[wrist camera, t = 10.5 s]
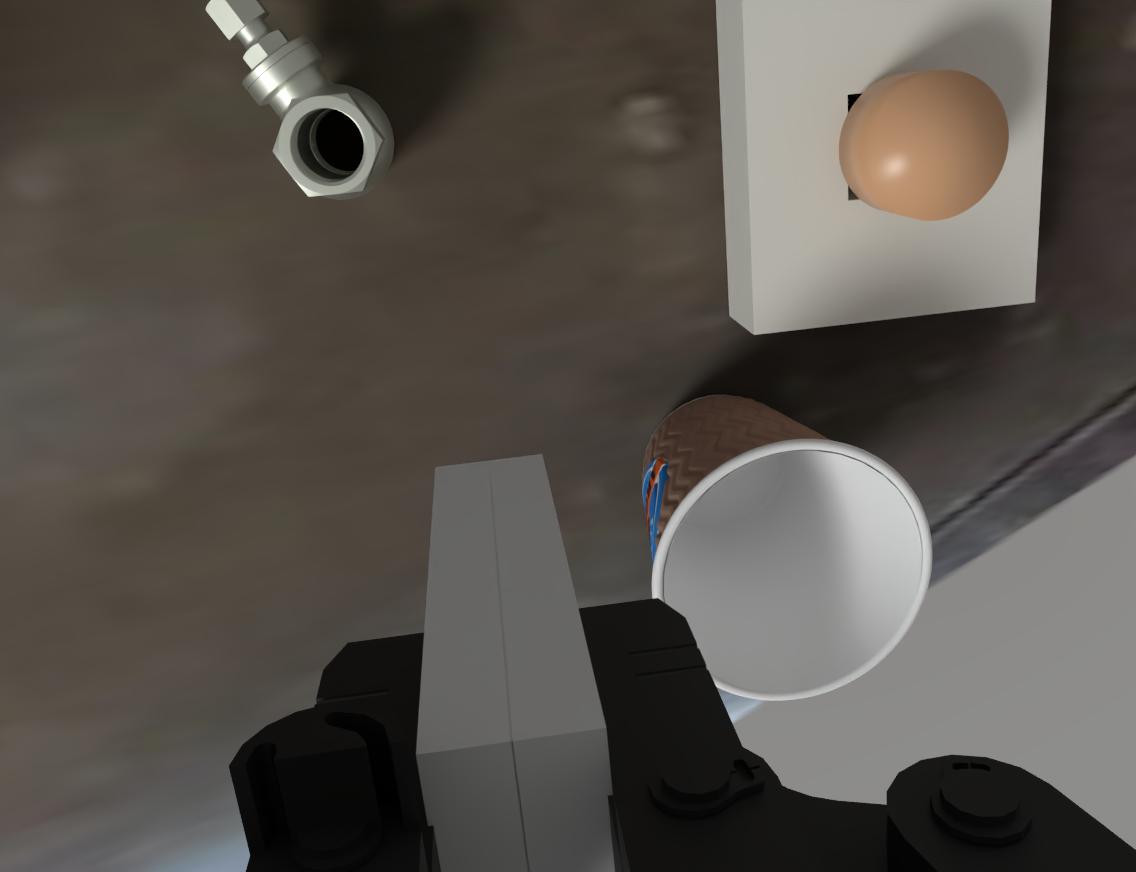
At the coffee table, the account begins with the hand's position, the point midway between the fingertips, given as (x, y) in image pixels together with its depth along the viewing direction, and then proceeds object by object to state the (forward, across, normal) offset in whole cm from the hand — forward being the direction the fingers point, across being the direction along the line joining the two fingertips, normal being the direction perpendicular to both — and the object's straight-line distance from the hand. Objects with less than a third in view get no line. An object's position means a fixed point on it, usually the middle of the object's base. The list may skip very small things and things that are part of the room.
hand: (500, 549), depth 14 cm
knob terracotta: (+30, +17, +3) cm, 34 cm away
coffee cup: (+31, +10, -11) cm, 34 cm away
